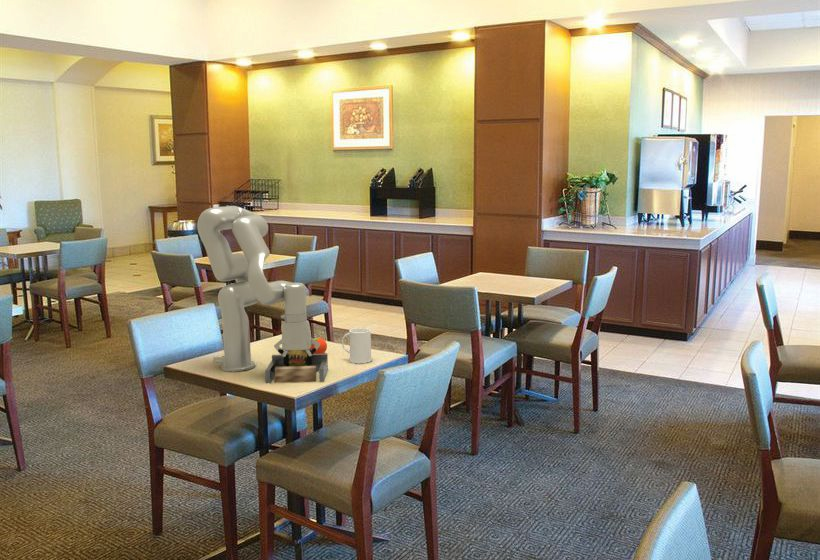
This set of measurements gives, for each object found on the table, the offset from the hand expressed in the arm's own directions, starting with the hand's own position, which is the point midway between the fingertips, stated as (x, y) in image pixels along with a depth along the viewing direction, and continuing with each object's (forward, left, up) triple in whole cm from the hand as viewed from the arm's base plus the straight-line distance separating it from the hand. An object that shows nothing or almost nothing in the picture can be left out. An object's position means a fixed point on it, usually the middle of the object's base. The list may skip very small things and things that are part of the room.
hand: (298, 366), depth 248 cm
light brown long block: (0, -6, -4) cm, 7 cm away
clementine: (+4, +27, -4) cm, 28 cm away
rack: (0, -1, -3) cm, 4 cm away
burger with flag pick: (0, 0, -4) cm, 4 cm away
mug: (+20, +18, -4) cm, 27 cm away
